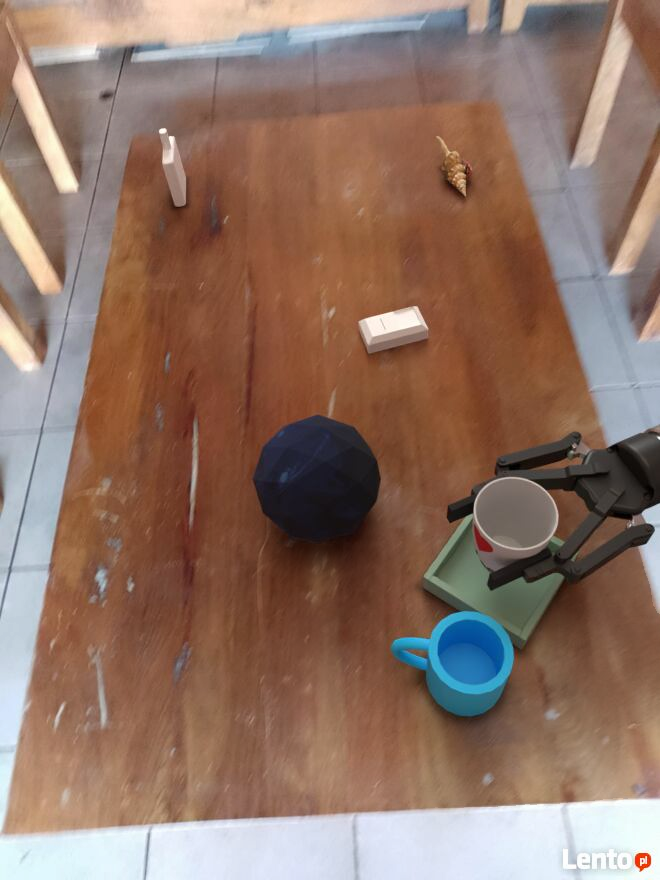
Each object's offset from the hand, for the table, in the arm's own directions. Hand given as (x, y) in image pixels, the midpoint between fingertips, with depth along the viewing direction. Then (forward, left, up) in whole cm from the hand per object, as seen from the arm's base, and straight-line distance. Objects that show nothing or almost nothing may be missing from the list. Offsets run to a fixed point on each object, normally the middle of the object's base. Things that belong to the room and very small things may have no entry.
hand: (469, 547), depth 72 cm
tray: (-2, -4, -11) cm, 12 cm away
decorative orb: (+20, 0, -11) cm, 23 cm away
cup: (-2, -4, -7) cm, 8 cm away
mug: (-3, +9, -11) cm, 15 cm away
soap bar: (+29, -29, -11) cm, 42 cm away
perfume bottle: (+80, -37, -11) cm, 88 cm away
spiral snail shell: (+40, -65, -11) cm, 78 cm away
